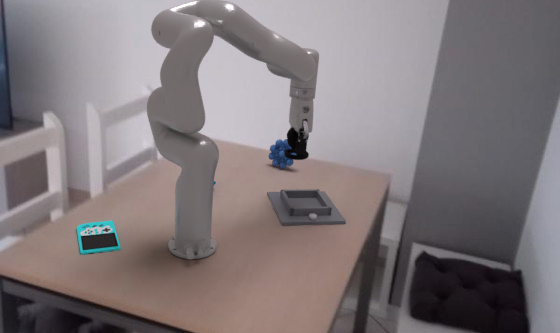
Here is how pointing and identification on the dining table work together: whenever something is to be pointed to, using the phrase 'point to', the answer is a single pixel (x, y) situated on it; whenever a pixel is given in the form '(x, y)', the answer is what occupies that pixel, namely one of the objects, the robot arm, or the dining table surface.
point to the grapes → (280, 154)
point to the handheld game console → (97, 237)
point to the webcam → (294, 145)
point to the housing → (304, 207)
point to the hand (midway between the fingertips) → (297, 148)
